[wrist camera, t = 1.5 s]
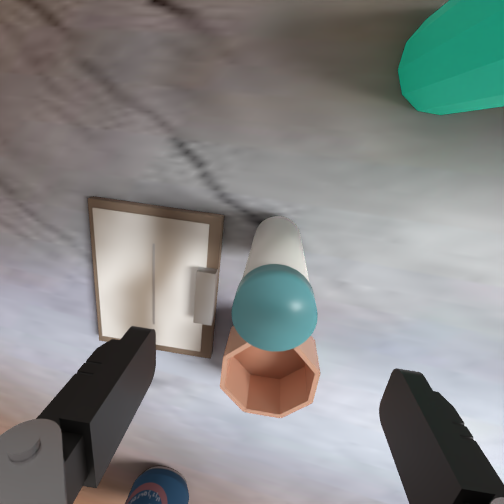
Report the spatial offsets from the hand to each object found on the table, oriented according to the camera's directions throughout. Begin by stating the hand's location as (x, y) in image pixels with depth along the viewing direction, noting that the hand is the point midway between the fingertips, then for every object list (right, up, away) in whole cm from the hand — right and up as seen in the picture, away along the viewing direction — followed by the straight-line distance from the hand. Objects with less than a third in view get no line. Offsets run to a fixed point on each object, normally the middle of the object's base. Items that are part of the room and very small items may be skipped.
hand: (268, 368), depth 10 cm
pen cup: (+1, -5, +18) cm, 19 cm away
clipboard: (-9, +1, +17) cm, 19 cm away
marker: (+2, +5, +14) cm, 15 cm away
